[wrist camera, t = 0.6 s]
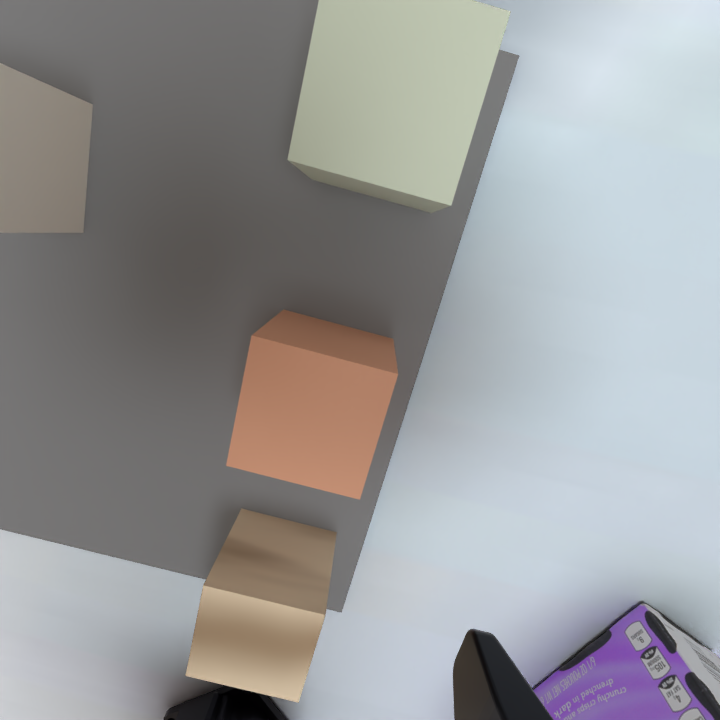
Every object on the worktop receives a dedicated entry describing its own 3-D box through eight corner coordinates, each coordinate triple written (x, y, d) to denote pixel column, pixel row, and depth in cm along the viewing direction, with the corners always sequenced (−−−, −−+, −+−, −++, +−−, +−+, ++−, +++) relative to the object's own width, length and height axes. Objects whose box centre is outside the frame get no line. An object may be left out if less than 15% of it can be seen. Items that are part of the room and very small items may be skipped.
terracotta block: (364, 437, 21) (360, 499, 16) (261, 411, 20) (225, 465, 16) (393, 338, 19) (398, 374, 14) (283, 309, 19) (251, 335, 14)
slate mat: (342, 604, 24) (341, 612, 24) (-35, 512, 23) (-44, 518, 23) (515, 60, 16) (519, 55, 16) (-37, -101, 16) (-50, -112, 15)
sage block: (431, 213, 18) (451, 205, 13) (312, 179, 17) (287, 160, 13) (471, 76, 16) (510, 11, 11) (342, 39, 16) (327, -43, 11)
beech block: (314, 607, 24) (298, 702, 19) (225, 585, 23) (185, 675, 19) (336, 532, 22) (325, 615, 17) (241, 508, 22) (203, 585, 17)
